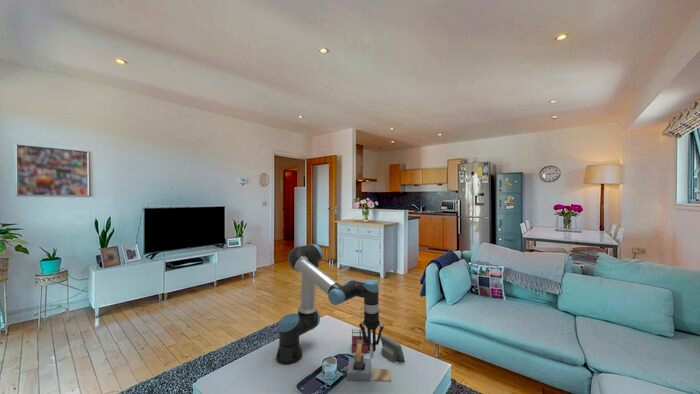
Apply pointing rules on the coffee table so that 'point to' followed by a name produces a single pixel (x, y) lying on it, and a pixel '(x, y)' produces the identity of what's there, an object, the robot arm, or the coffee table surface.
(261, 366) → the coffee table surface
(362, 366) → the plug
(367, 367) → the socket
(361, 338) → the puzzle cube
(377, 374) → the coaster
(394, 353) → the digital clock
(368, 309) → the robot arm
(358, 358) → the wooden handle
